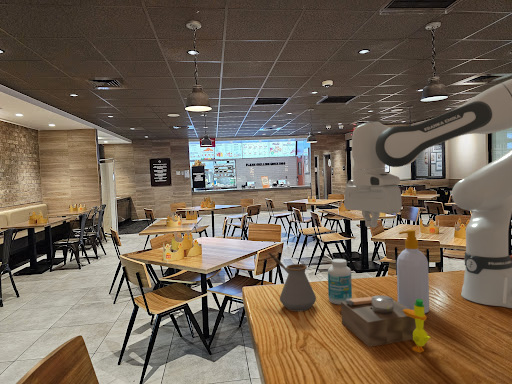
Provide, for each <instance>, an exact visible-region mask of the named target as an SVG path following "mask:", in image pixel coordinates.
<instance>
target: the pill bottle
mask: <svg viewBox="0 0 512 384" xmlns="http://www.w3.org/2000/svg"><path fill="white" fill-rule="evenodd" d="M347 262H348V261H347V260H346V259H345V258H334V259H331V266H330V267H329V268H328V269H327V285H328V286H327V289H328V290H327V292H328V301H329V302H330V303H332V304H335V305H337V306H338V305H340V306H341V302H344V301H345V300H346V299H347V298H348V299H353V294H352V293H353V290H352V289H353V287H352V286H353V285H352V269H351V268H350V267H348V266H347V264H348V263H347Z"/></svg>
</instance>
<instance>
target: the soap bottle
mask: <svg viewBox="0 0 512 384" xmlns="http://www.w3.org/2000/svg"><path fill="white" fill-rule="evenodd" d="M416 231H417V229H406V230H402V231H400V232H398V235H403V234H407V236H406V239H405V240H404V244H405V247H404V248H405V249H403V250H402V251H400V254H399V255H398V256H397V259H396V284H397V285H396V287H397V288H396V289H397V302H398V303H400V304H402V305H404V306H405V307H407V308H409V309H411V310H414V303H416V299H421V300H423V304H424V314H427V313H428V312H430V285H429V280H430V278H429V261H428V258H427V257H426V255H425V254H424V253H423V252H422V251H420V250H419V240H418V239H417V237H416Z"/></svg>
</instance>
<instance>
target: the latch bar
mask: <svg viewBox="0 0 512 384" xmlns="http://www.w3.org/2000/svg"><path fill="white" fill-rule="evenodd" d="M372 297H373V296H364V297H356V298H355V297H354V298H352V299H348V298H347V299H346V300H345V302H346V303H348V304H349V305H350V306H353V305H358V304H367V303H372Z"/></svg>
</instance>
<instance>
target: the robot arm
mask: <svg viewBox="0 0 512 384" xmlns="http://www.w3.org/2000/svg"><path fill="white" fill-rule="evenodd" d="M511 128H512V78H511V79H507V80H505V81H503V82H500V83H498V84H496V85H493V86H491V87H489V88H488V89H486V90H483V91H481V92H480V93H478V94H477V95H474V96H473V97H472V98H470V99H469V100H467V101H466V102H464V103H463V104H461V105H460V106H457V107H456V108H454V109H451V110H450V111H447V112H445V113H443V114H440V115H437V116H435V117H433V118H430V119H427V120H425V121H423V122H420V123H418V124H414V125H399V126H398V125H396V126H392V127H390V126H388V125H385V124H383V123H381V122H380V121H377V120H376V121H368V122H365V123H362V124H359V125H358V126H356V127H355V128H354V130H353V132H352V137H351V156H352V159H353V167H352V176H353V177H352V178H353V179H350V180H348V181H347V183H346V184H345V190H344V197H343V198H344V202H343V204H344V208H345V209H346V210H348V211H356V212H357V211H359V212H361V215H362V218H363V220H364V221H365V227H367V228H368V227H369V228H377V227H378V220H379V218H380V216H381V213H382V214H389V215H390V214H391V215H392V214H398V213H400V212H401V210H402V207H403V205H402V204H403V202H402V201H403V200H402V199H403V198H402V192H401V188H400V187H399V185H400V183H401V179H400V177H399V176H397V175H394V174H391V173H389V172H387V171H386V169H385V168H386V166H388V167H392V168H400V167H403V166H407V165H410V164H411V163H413V162H414V161H416V160H417V158H418V157H419V156H420V154H421V153H422V152H423V151H425V150H428V149H429V148H431V147H434V146H436V145H440V144H442V143H445V142H447V141H451V140H452V139H454V138H458V137H461V136H464V135H471V134H474V135H475V134H479V135H488V134H492V133H499V132H501V131H504V130H508V129H511ZM451 197H452V201H453V203H454V204H455V205H456V207H458V208H460V210H461V209H462V210H464V211H469V212H472V213H471V216H470V219H469V222H468V223H467V225H466V227H465V252H464V265H465V268H464V275H463V283H462V284H463V285H462V286H461V294H460V295H461V297H462V298H464V299H465V300H468V301H470V302H473V303H476V304H480V305H486V306H495V307H503V308H508V309H512V254H511V255H510V254H509V230H510V229H509V228H510V222H511V218H512V149H510V150H509V151H507V152H505V154H503V155H502V156H500V157H498V158H497V159H495V160H493V161H491V162H489V163H487V164H486V165H484V166H483V167H481V168H479V169H477V170H475V171H474V172H473V173H471V174H469V175H468V176H466V177H464V178H462V179H461V180H459V181H457V182H456V183H455V184H454V186H453V187H452V190H451Z"/></svg>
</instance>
